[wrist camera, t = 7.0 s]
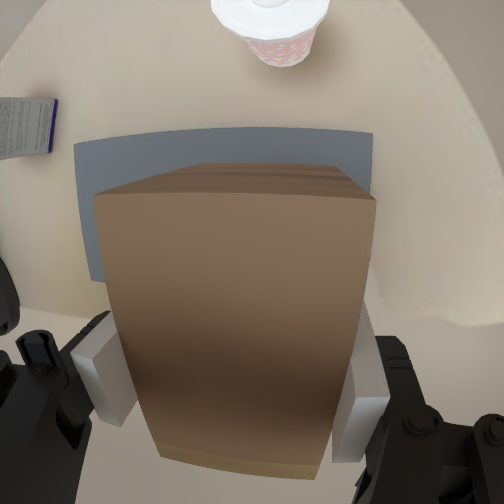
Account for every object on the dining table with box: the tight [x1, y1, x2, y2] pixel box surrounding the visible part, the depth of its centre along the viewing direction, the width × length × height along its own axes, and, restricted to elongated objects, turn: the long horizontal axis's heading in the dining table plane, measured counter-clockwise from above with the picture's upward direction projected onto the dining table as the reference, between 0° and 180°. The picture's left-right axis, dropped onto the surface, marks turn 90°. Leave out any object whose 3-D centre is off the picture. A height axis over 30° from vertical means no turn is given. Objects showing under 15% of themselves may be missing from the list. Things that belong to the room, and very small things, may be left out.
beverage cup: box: [211, 0, 330, 67], centre depth 13 cm, size 6×6×14 cm
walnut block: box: [93, 163, 376, 480], centre depth 11 cm, size 10×6×8 cm, turn 0°
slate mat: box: [74, 127, 373, 282], centre depth 25 cm, size 26×14×1 cm, turn 90°
